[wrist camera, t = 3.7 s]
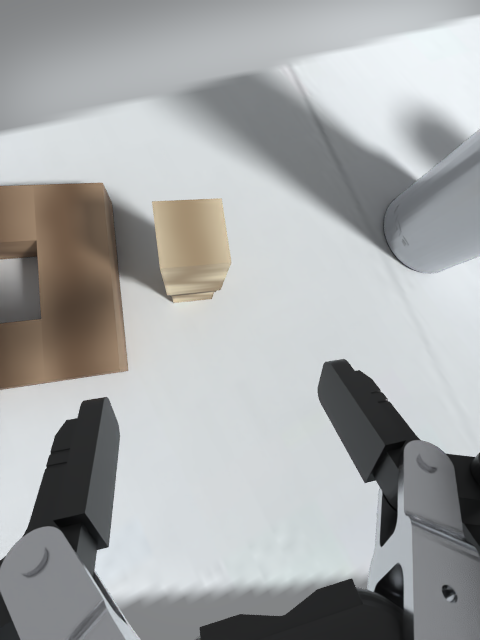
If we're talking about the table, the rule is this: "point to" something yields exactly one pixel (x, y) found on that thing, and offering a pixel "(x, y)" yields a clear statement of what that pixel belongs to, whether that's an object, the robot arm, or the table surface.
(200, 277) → the oak peg
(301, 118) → the table surface
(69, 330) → the walnut board
